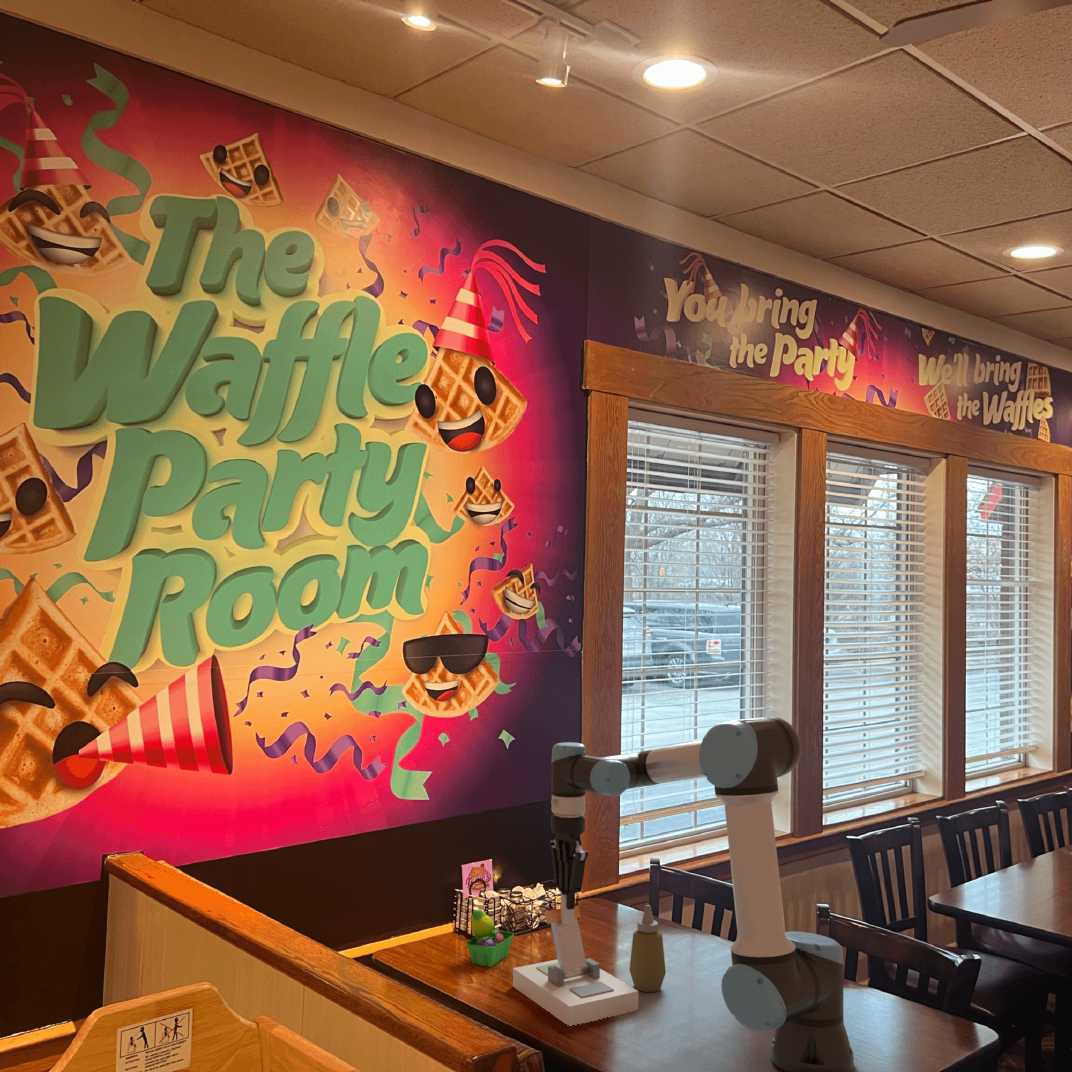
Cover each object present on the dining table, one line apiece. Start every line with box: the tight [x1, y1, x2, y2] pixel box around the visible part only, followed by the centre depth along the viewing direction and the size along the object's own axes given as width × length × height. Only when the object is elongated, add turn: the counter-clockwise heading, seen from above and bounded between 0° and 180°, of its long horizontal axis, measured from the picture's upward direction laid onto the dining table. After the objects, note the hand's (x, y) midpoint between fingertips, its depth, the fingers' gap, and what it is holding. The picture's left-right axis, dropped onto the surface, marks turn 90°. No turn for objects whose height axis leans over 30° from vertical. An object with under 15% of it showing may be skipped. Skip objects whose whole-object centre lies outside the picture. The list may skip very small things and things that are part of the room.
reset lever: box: [544, 905, 590, 979], centre depth 224 cm, size 3×7×14 cm, turn 120°
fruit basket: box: [465, 909, 515, 968], centre depth 245 cm, size 11×9×11 cm
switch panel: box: [512, 957, 639, 1027], centre depth 221 cm, size 24×17×7 cm
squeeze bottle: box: [629, 904, 667, 993], centre depth 228 cm, size 8×8×18 cm
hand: (567, 922), depth 224 cm, fingers closed
